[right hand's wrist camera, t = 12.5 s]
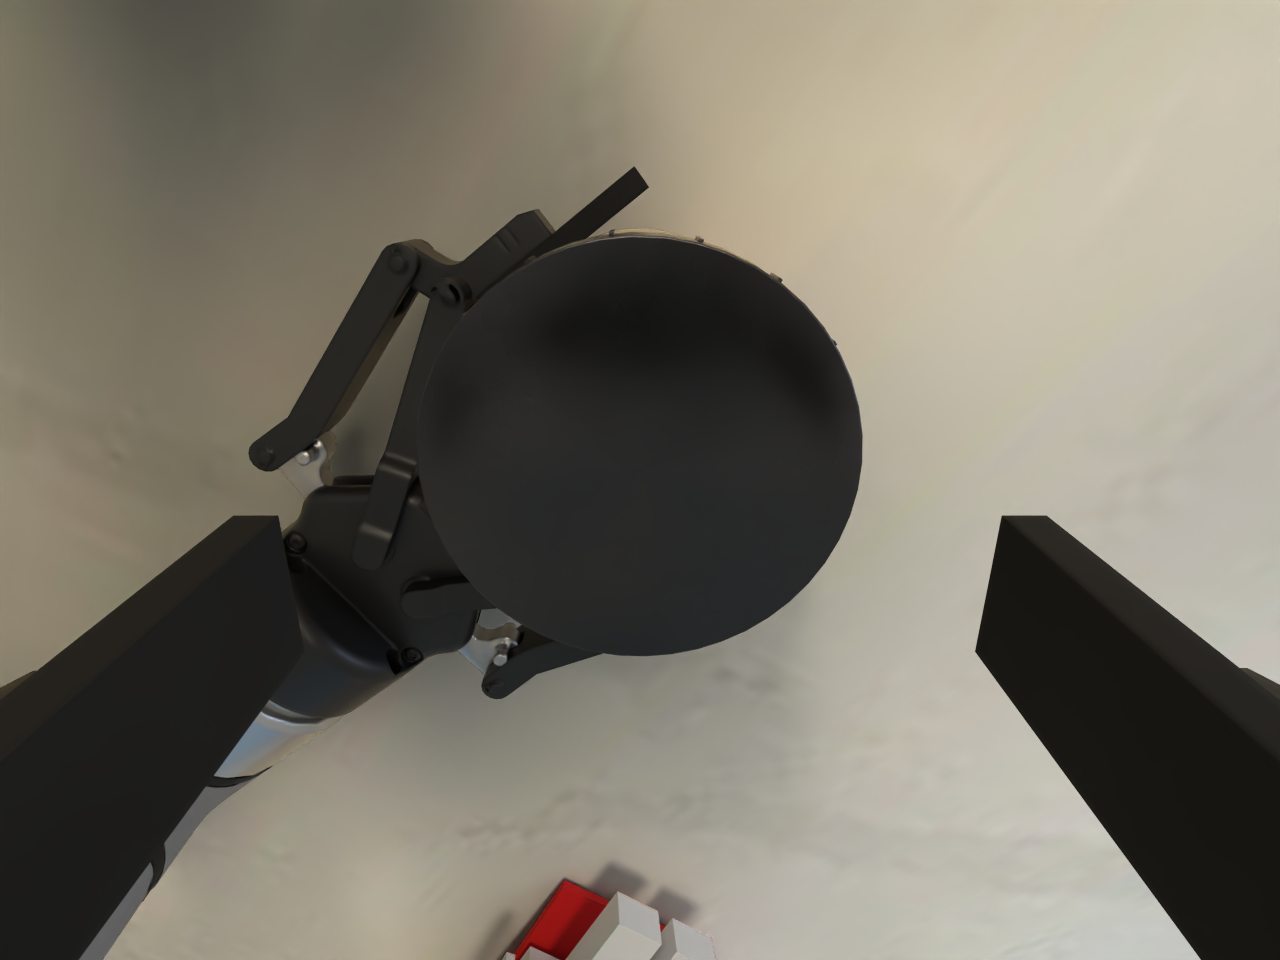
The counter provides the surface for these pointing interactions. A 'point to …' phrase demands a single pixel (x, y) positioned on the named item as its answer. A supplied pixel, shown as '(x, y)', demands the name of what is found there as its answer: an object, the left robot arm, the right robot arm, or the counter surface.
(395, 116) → the counter surface
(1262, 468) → the counter surface
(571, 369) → the lid
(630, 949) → the toy
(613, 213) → the left robot arm
